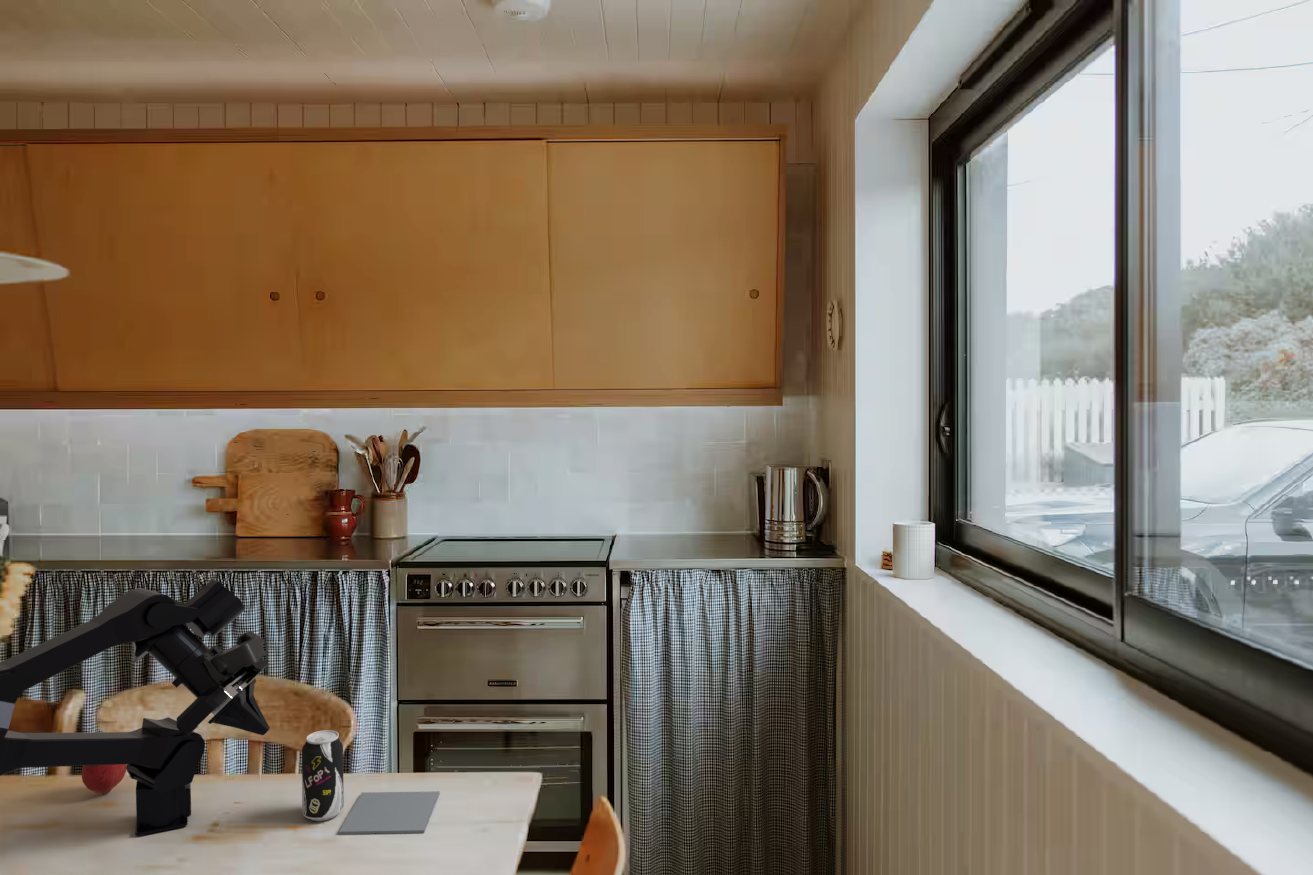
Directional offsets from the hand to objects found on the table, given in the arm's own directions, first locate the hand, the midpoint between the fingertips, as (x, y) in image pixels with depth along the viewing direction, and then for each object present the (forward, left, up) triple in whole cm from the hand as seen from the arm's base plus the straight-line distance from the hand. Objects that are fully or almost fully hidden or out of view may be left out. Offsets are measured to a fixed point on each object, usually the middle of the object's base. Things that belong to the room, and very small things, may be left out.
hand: (266, 732), depth 128 cm
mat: (+16, -8, -13) cm, 22 cm away
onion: (-22, +19, -13) cm, 31 cm away
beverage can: (+7, -3, -13) cm, 15 cm away
